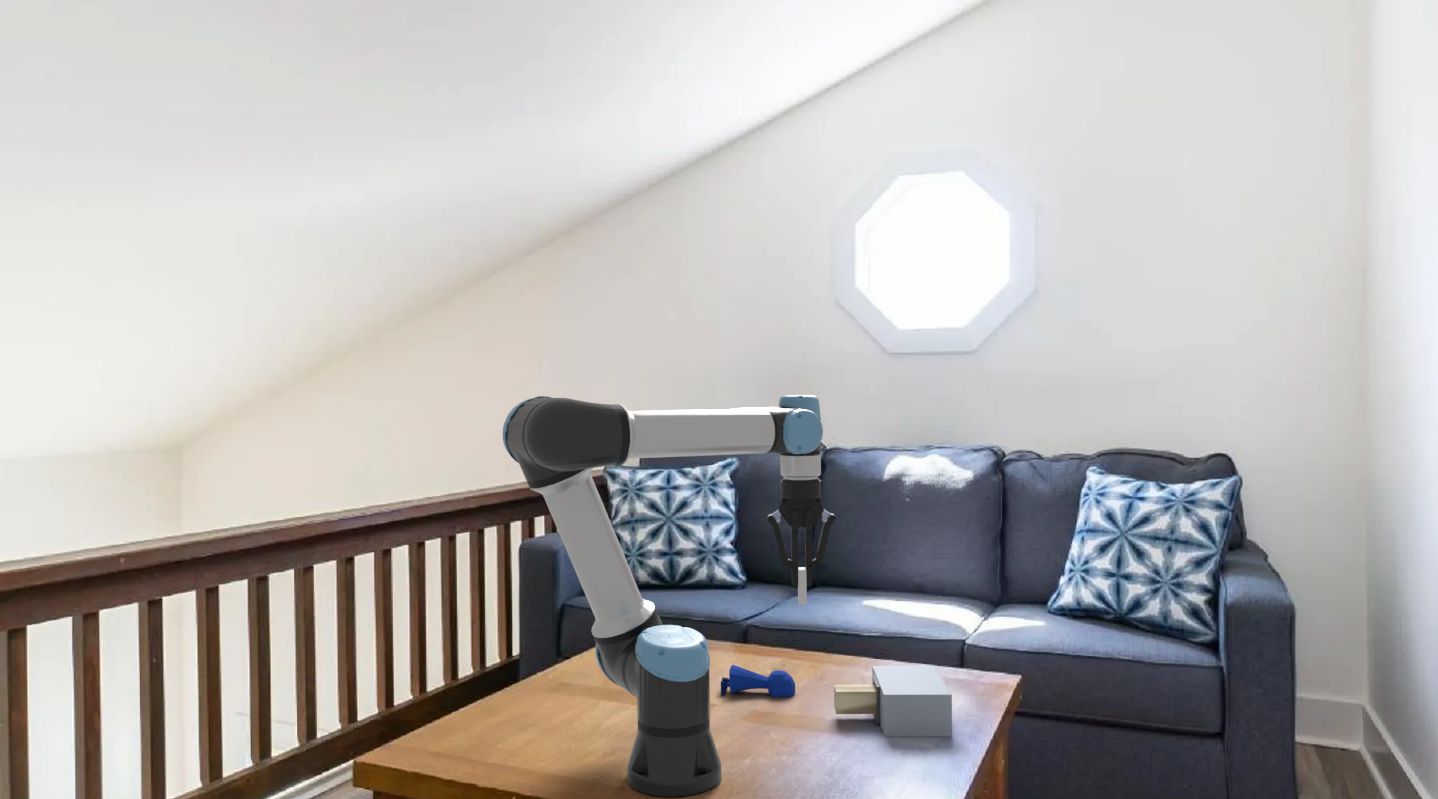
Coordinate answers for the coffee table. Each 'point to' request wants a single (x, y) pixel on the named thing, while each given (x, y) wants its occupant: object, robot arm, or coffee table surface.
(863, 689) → the peg
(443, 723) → the coffee table surface
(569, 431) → the robot arm
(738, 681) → the toy
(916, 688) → the sleeve block
